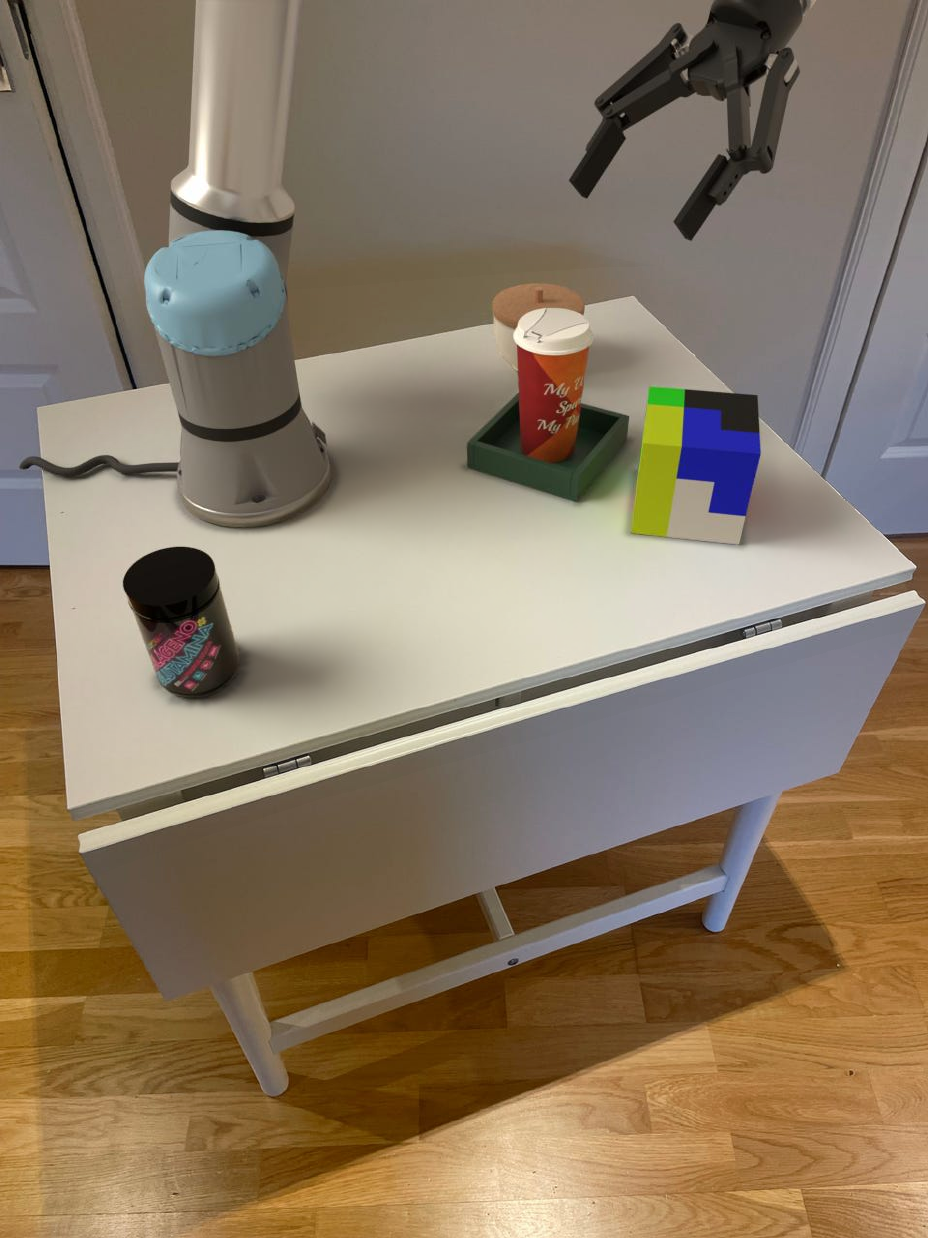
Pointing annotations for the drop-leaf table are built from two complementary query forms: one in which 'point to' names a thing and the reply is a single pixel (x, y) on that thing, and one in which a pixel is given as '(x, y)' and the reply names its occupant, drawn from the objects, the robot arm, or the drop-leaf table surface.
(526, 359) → the paper cup
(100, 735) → the drop-leaf table surface
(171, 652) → the supplement container
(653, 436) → the puzzle toy
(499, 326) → the trinket box
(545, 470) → the green square tray
